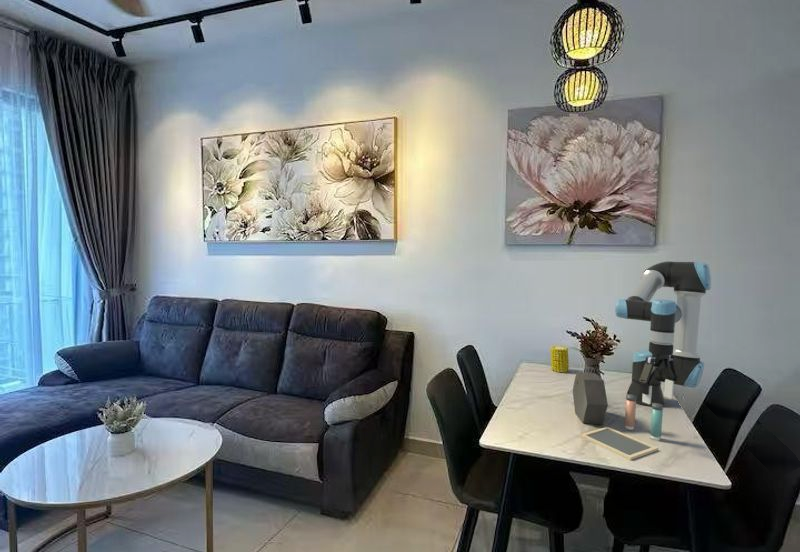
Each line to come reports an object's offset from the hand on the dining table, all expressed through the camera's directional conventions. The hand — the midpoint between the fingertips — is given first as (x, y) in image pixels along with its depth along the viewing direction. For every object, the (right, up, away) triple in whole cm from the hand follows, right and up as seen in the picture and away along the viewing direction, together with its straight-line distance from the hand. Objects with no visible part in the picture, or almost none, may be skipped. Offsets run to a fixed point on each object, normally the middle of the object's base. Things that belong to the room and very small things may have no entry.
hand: (657, 400), depth 154 cm
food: (-3, -9, +87) cm, 87 cm away
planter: (-17, -13, +19) cm, 29 cm away
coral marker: (-5, -14, +10) cm, 18 cm away
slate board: (-16, -15, -3) cm, 22 cm away
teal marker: (0, -15, +1) cm, 15 cm away
